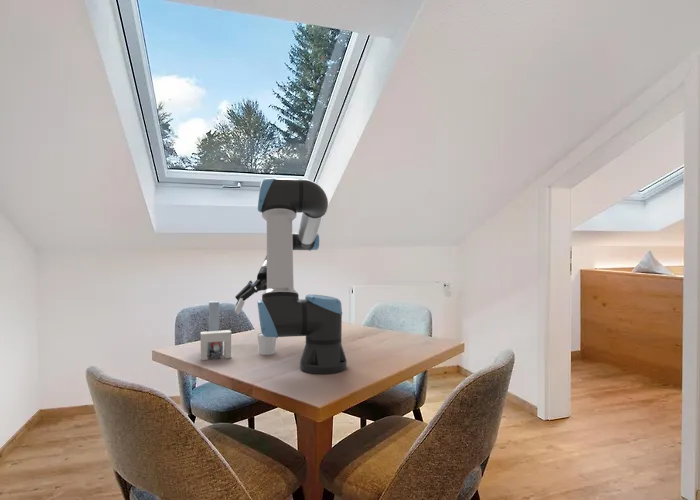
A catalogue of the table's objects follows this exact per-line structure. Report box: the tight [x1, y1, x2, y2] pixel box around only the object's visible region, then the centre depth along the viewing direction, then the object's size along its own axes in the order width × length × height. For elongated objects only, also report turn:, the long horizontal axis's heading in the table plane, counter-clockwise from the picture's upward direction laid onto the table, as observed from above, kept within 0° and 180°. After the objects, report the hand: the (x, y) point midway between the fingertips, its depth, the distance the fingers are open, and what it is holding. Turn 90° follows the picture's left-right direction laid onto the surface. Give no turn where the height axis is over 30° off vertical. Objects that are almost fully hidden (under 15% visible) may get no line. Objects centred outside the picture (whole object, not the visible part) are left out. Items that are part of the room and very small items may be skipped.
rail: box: [210, 350, 222, 360], centre depth 162 cm, size 24×3×2 cm, turn 20°
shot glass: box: [257, 332, 277, 356], centre depth 159 cm, size 7×7×7 cm
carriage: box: [207, 300, 224, 357], centre depth 160 cm, size 11×5×18 cm, turn 20°
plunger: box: [211, 342, 220, 353], centre depth 151 cm, size 9×3×3 cm, turn 20°
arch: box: [200, 329, 232, 361], centre depth 152 cm, size 4×10×9 cm, turn 110°
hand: (250, 311), depth 170 cm, fingers open, 13 cm apart
